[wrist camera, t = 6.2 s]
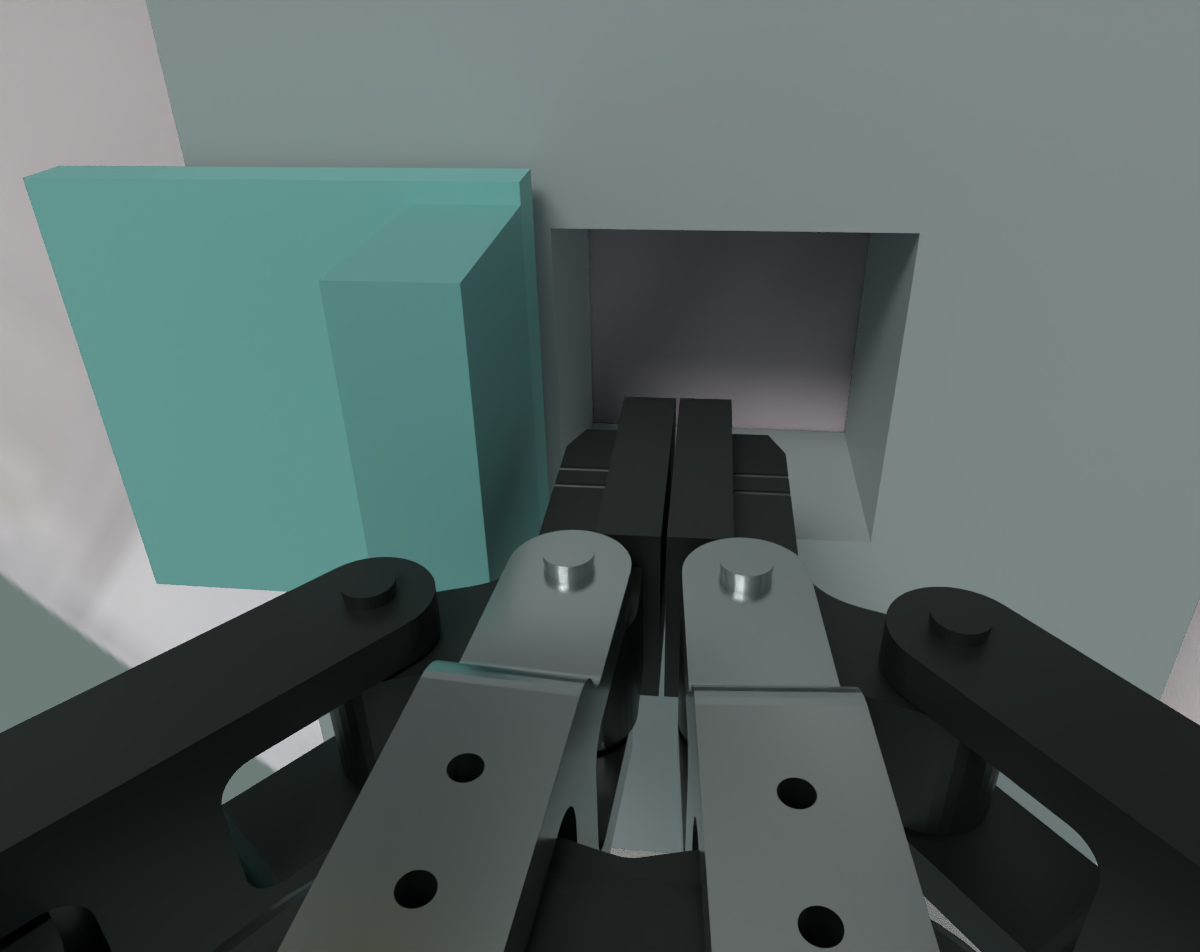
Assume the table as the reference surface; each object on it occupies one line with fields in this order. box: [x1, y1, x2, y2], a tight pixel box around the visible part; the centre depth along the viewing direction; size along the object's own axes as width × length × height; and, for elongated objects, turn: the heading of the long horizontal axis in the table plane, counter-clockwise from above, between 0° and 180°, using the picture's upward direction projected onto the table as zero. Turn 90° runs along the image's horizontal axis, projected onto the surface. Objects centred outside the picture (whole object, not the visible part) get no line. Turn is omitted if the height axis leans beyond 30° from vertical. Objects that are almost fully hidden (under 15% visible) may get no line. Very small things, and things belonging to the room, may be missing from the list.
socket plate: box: [146, 0, 1200, 864], centre depth 17 cm, size 16×18×4 cm
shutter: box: [23, 166, 549, 592], centre depth 13 cm, size 7×7×4 cm
